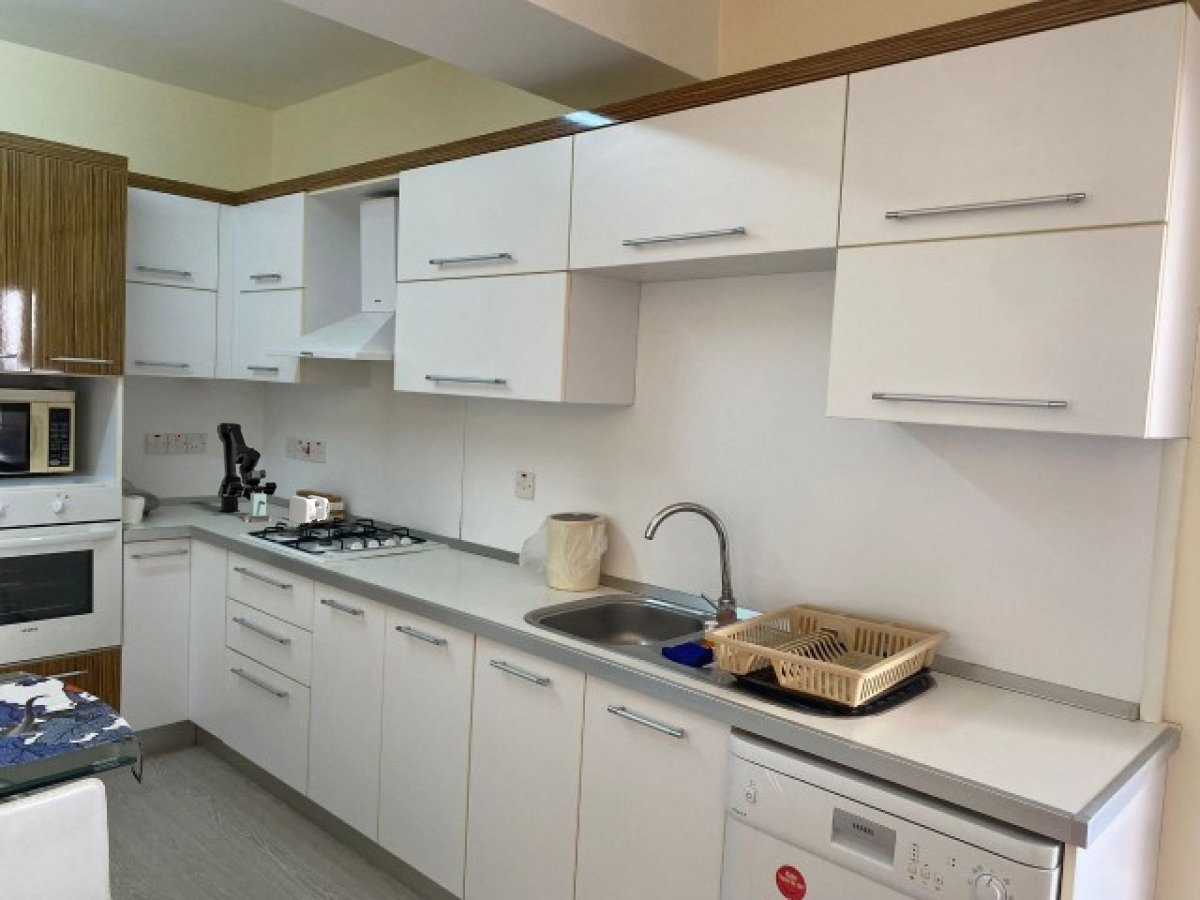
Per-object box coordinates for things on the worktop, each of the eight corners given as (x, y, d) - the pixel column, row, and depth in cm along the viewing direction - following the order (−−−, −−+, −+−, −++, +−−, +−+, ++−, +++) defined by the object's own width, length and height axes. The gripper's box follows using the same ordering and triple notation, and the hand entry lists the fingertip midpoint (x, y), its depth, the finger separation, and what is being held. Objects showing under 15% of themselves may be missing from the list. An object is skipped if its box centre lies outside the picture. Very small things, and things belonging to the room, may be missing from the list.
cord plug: (248, 520, 357) (249, 493, 356) (263, 519, 361) (264, 493, 360) (255, 523, 350) (256, 496, 349) (271, 523, 354) (272, 495, 353)
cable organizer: (287, 523, 364) (288, 495, 363) (310, 521, 372) (311, 494, 371) (305, 528, 354) (306, 499, 353) (329, 526, 362) (330, 498, 361)
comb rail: (232, 520, 363) (233, 511, 363) (262, 518, 371) (262, 510, 370) (245, 525, 351) (245, 517, 350) (275, 524, 358) (276, 515, 358)
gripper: (229, 463, 356) (237, 493, 348) (276, 463, 368) (284, 492, 360) (223, 480, 362) (230, 510, 355) (269, 479, 374) (277, 509, 366)
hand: (256, 505), depth 359 cm, fingers closed, pressing on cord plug
